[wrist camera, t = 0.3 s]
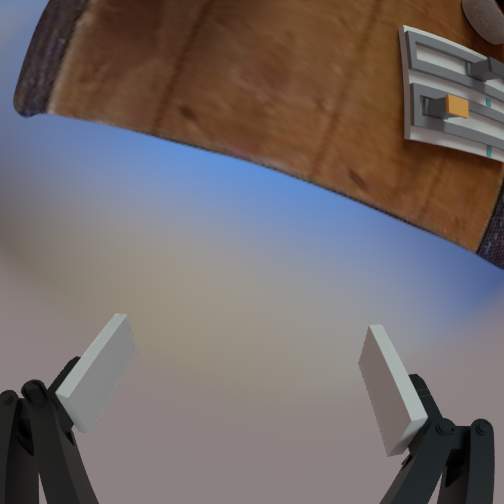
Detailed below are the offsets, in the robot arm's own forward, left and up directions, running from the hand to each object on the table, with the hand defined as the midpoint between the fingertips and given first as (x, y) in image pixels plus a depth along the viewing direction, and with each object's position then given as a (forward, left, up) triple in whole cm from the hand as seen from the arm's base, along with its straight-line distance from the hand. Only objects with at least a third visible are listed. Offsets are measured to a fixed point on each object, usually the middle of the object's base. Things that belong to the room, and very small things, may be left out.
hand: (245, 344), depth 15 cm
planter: (-41, +41, -27) cm, 64 cm away
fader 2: (-26, +34, -25) cm, 49 cm away
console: (-22, +32, -27) cm, 47 cm away
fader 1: (-18, +24, -25) cm, 39 cm away
